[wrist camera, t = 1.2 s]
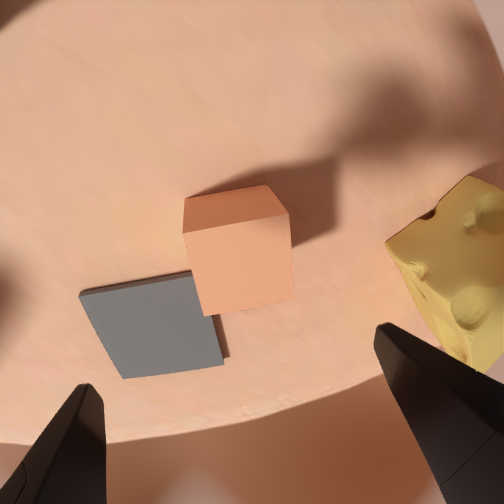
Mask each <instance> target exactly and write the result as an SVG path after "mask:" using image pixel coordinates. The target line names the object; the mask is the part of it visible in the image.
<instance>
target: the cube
mask: <svg viewBox="0 0 504 504" xmlns="http://www.w3.org/2000/svg"><path fill="white" fill-rule="evenodd" d="M183 237H184V242H185V246H186V250H187V254H188V258H189V262H190V266H191V270H192V274H193V278H194V281H195V285H196V289H197V293H198V296H199V300H200V304H201V307H202V311H203V315H204V317H205V316H210V315H216V314H221V313H226V312H231V311H236V310H242V309H247V308H252V307H256V306H261V305H266V304H271V303H276V302H280V301H285V300H290V299H294V280H293V264H292V248H291V233H290V220H289V213H288V212H287V210H286V209H285V208H284V206H283V205H282V204H281V202H280V201H279V200H278V198H277V197H276V196H275V194H274V193H273V192H272V190H271V189H270V188H269V187H268V185H267V184H265V185H259V186H253V187H247V188H241V189H235V190H229V191H224V192H218V193H213V194H208V195H202V196H197V197H192V198H187V199H185V203H184V218H183Z"/></svg>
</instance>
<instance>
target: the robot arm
mask: <svg viewBox="0 0 504 504" xmlns="http://www.w3.org/2000/svg"><path fill="white" fill-rule="evenodd" d="M374 350H375V352H376V355H377V357H378V360H379V362H380V365H381V367H382V370H383V372H384V375H385V377H386V380H387V383H388V385H389V387H390V390H391V392H392V394H393V396H394V397H395V399H396V401H397V403H398V405H399V407H400V409H401V411H402V413H403V415H404V416H405V418H406V420H407V422H408V424H409V426H410V428H411V430H412V432H413V434H414V436H415V438H416V440H417V442H418V444H419V446H420V448H421V450H422V452H423V454H424V456H425V458H426V460H427V463H428V464H429V466H430V469H431V471H432V473H433V475H434V477H435V479H436V482H437V484H438V486H440V487H439V488H440V490H441V492H442V495H443V497H444V499H445V501H446V504H504V384H502V383H500V382H498V381H496V380H494V379H492V378H490V377H488V376H486V375H485V374H483V373H481V372H479V371H476V370H475V369H474V368H472V367H470V366H468V365H466V364H465V363H463V362H461V361H459V360H457V359H456V358H454V357H452V356H450V355H448V354H446V353H445V352H443V351H441V350H439V349H438V348H436V347H434V346H432V345H430V344H428V343H427V342H425V341H423V340H421V339H419V338H418V337H416V336H414V335H412V334H410V333H408V332H407V331H405V330H403V329H401V328H399V327H398V326H396V325H394V324H392V323H390V322H387V323H383V324H380V325H378V326H377V328H376V332H375V338H374ZM0 504H107V499H106V434H105V419H104V403H103V400H102V398H101V396H100V395H99V394H98V393H97V391H96V390H95V388H94V387H93V386H92V385H91V384H89V383H86V384H79V385H78V386H77V387H76V388H75V389H74V391H73V392H72V393H71V395H70V396H69V397H68V399H67V400H66V401H65V402H64V404H63V405H62V406H61V408H60V409H59V410H58V412H57V413H56V414H55V416H54V417H53V418H52V420H51V421H50V422H49V424H48V425H47V427H46V428H45V429H44V431H43V432H42V433H41V435H40V436H39V437H38V439H37V440H36V442H35V443H34V444H33V446H32V447H31V449H30V450H29V451H28V453H27V454H26V456H25V457H24V459H23V461H21V463H20V464H19V466H18V467H17V468H16V470H15V471H14V472H13V474H12V475H11V477H10V478H9V479H8V481H7V482H6V483H5V484H4V485H3V487H2V488H1V489H0Z"/></svg>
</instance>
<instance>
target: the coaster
mask: <svg viewBox="0 0 504 504" xmlns="http://www.w3.org/2000/svg"><path fill="white" fill-rule="evenodd" d="M78 297H79V299H80V301H81V303H82V305H83V307H84V310H85V312H86V314H87V316H88V318H89V320H90V321H91V323H92V325H93V327H94V329H95V331H96V333H97V335H98V337H99V339H100V340H101V342H102V344H103V346H104V348H105V349H106V351H107V353H108V355H109V356H110V358H111V360H112V362H113V363H114V365H115V367H116V368H117V370H118V372H119V373H120V375H121V377H122V378H123V379H127V378H136V377H145V376H153V375H161V374H169V373H176V372H183V371H189V370H196V369H202V368H208V367H214V366H220V365H224V359H223V356H222V352H221V348H220V345H219V341H218V337H217V333H216V329H215V326H214V322H213V318H212V315H210V316H205V317H204V315H203V311H202V307H201V304H200V300H199V296H198V293H197V289H196V285H195V281H194V278H193V274H192V271H191V272H185V273H180V274H174V275H169V276H164V277H158V278H153V279H147V280H142V281H137V282H131V283H126V284H120V285H115V286H109V287H104V288H98V289H93V290H87V291H82V292H80V294H79V296H78Z"/></svg>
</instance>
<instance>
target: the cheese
mask: <svg viewBox="0 0 504 504" xmlns="http://www.w3.org/2000/svg"><path fill="white" fill-rule="evenodd" d="M385 246H386V248H387V250H388V252H389V254H390V255H391V257H392V258H393V260H394V261H395V263H396V264H397V266H398V267H399V269H400V271H401V273H402V275H403V277H404V280H405V282H406V284H407V286H408V288H409V291H410V293H411V295H412V297H413V300H414V302H415V305H416V307H417V309H418V311H419V312H420V314H421V315H422V317H423V319H424V320H425V322H426V324H427V325H428V327H429V328H430V330H431V331H432V332H433V334H434V335H435V337H436V338H437V339H438V341H439V342H440V344H441V345H442V346H443V348H444V349H445V350H446V352H447V353H448V354H449V355H450V356H452V357H454V358H456V359H457V360H459V361H461V362H463V363H465V364H466V365H468V366H470V367H472V368H474V369H475V370H476V371H479V372H481V373H483V374H484V373H485V372H486V371H487V370H488V369H489V368H490V367H491V366H492V365H493V364H494V363H495V361H496V360H497V359H498V358H499V357H500V356H501V355H502V354H503V353H504V190H503V189H501V188H499V187H497V186H495V185H492V184H490V183H488V182H485V181H483V180H481V179H478V178H475V177H472V176H469V175H468V176H466V177H465V178H464V179H463V180H461V181H460V182H459V183H458V184H457V185H456V186H455V187H454V188H453V189H452V190H451V191H450V192H449V193H448V194H446V195H445V196H444V197H443V198H442V199H441V200H440V201H439V203H438V205H437V207H436V210H435V215H434V216H433V217H432V218H431V219H428V220H423V219H417V220H416V221H414V222H413V223H411V224H410V225H409V226H407V227H406V228H405V229H403V230H402V231H401V232H400V233H398V234H396V235H395V236H393V237H392V238H391V239H389V240H388V241H387V242H386V243H385Z"/></svg>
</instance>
